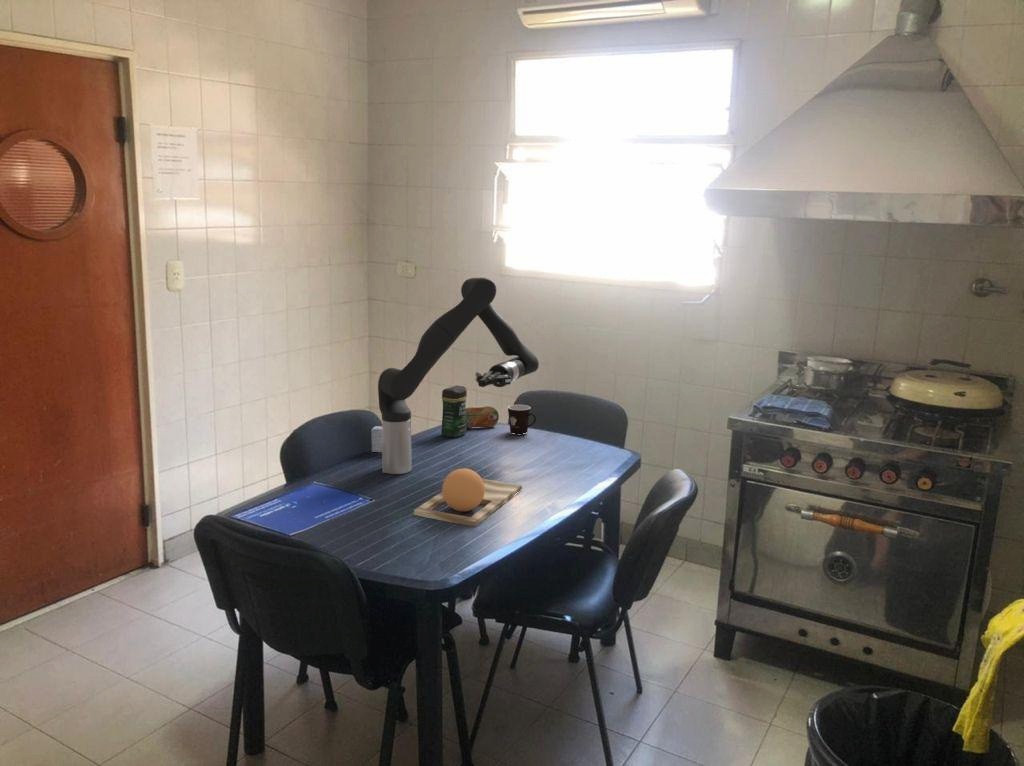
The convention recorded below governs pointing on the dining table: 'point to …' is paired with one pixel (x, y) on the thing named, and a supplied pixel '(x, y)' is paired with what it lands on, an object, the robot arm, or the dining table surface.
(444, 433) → the coffee jar
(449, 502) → the ball
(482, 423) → the tin
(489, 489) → the board
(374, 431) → the medicine box
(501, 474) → the dining table surface
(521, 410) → the coffee mug
